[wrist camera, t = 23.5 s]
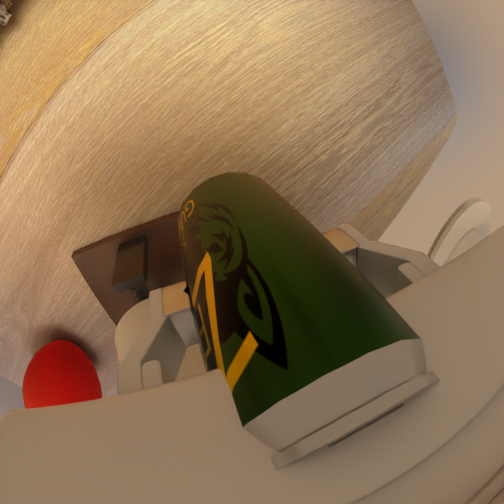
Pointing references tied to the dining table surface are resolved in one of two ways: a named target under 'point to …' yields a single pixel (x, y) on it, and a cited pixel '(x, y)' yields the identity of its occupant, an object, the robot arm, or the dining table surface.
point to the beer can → (291, 321)
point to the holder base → (132, 263)
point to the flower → (4, 12)
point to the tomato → (60, 376)
